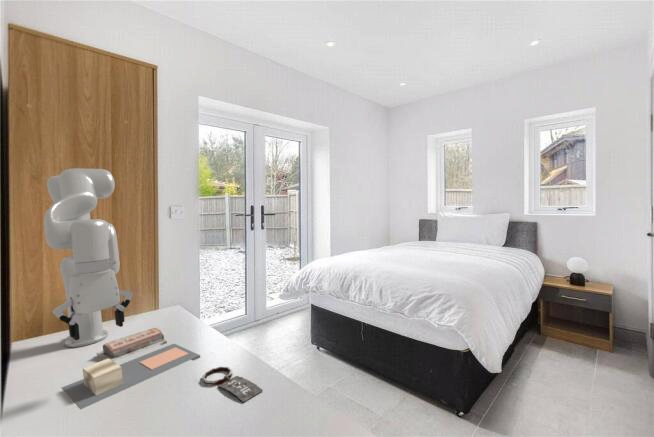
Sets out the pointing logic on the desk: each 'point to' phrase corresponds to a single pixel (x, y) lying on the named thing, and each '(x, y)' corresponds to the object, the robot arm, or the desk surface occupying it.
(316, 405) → the desk surface
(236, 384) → the keychain
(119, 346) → the packaged product
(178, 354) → the mat
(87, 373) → the birch tile
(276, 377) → the desk surface
